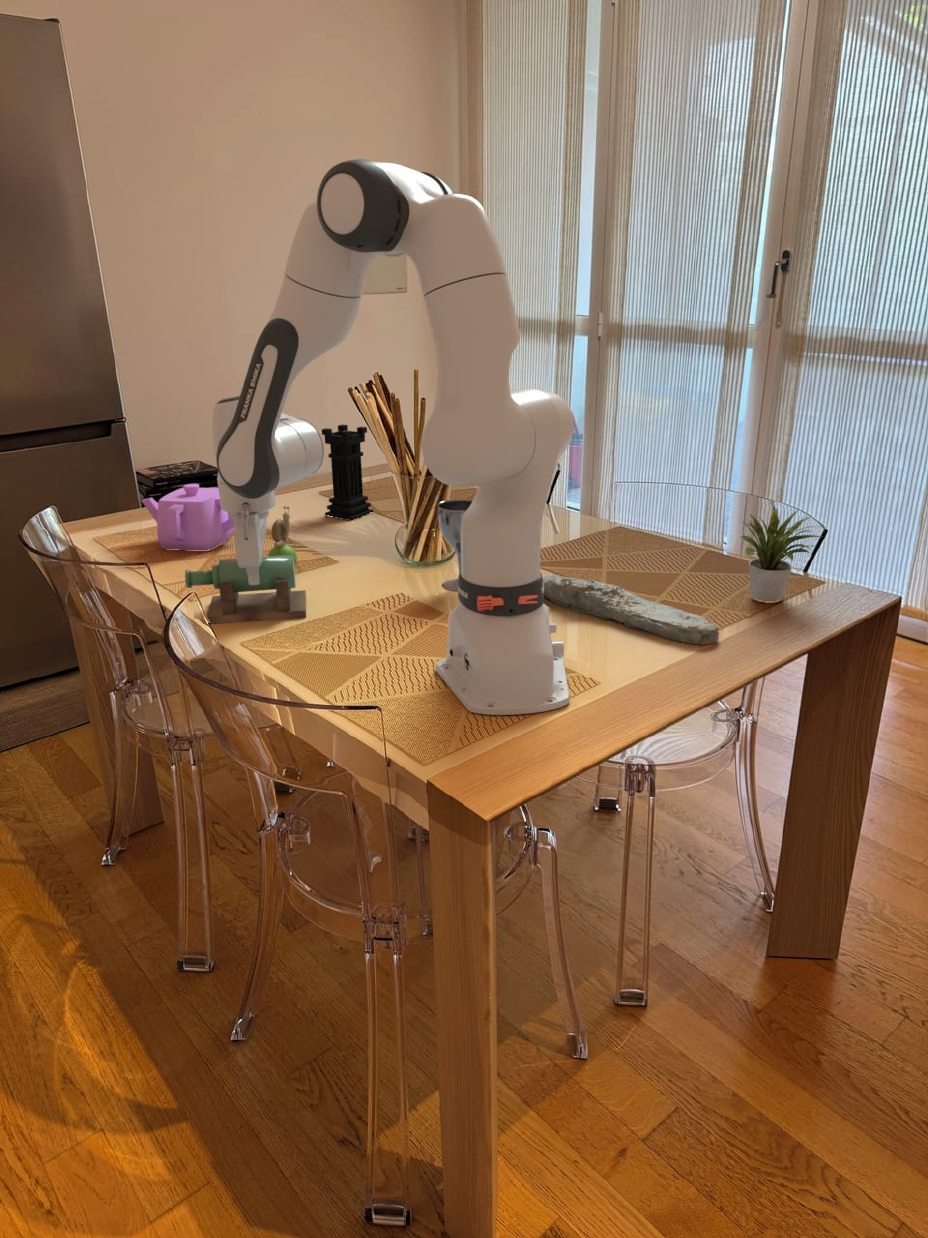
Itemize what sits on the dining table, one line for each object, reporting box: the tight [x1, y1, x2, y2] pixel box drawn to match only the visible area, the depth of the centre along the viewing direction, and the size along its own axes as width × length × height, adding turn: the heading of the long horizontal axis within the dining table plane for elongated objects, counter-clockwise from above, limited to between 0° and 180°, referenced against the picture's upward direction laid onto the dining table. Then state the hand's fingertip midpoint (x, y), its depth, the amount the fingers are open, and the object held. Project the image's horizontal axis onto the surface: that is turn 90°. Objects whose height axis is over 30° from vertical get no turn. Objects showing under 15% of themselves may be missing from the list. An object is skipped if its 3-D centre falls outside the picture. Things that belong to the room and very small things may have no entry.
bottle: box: [184, 555, 296, 593], centre depth 152 cm, size 18×6×6 cm
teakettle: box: [141, 483, 235, 550], centre depth 190 cm, size 17×17×12 cm
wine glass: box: [437, 498, 474, 592], centre depth 162 cm, size 8×8×15 cm
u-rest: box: [206, 579, 307, 625], centre depth 153 cm, size 16×10×6 cm, turn 99°
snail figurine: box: [267, 505, 298, 568], centre depth 171 cm, size 5×6×12 cm
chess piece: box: [321, 424, 374, 521], centre depth 207 cm, size 8×8×20 cm
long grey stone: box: [542, 574, 720, 646], centre depth 150 cm, size 35×5×10 cm
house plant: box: [739, 505, 823, 601], centre depth 153 cm, size 14×14×16 cm
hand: (255, 576), depth 152 cm, fingers closed on bottle, 6 cm apart
